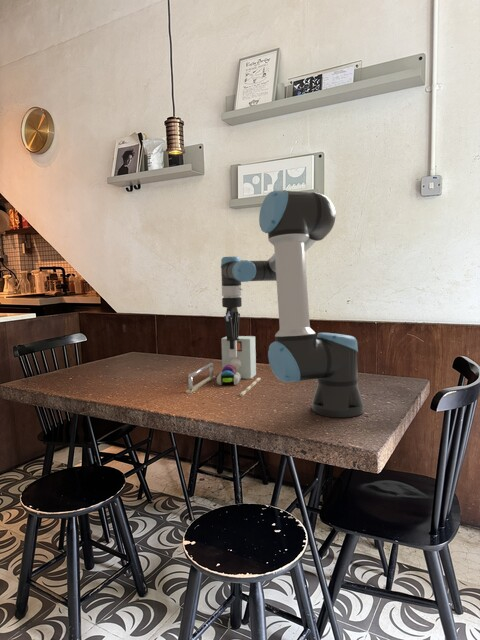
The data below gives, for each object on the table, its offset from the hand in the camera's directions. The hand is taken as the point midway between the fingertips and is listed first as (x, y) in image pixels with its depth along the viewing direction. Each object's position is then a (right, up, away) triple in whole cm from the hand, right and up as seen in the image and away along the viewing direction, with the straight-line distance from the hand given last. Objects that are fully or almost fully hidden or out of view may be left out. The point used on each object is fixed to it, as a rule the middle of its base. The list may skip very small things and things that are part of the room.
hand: (233, 356), depth 173 cm
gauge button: (+1, +3, +4) cm, 5 cm away
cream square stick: (+7, -10, -10) cm, 16 cm away
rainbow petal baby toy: (-2, -10, -4) cm, 11 cm away
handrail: (-12, -10, -5) cm, 16 cm away
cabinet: (+2, -9, +8) cm, 12 cm away
